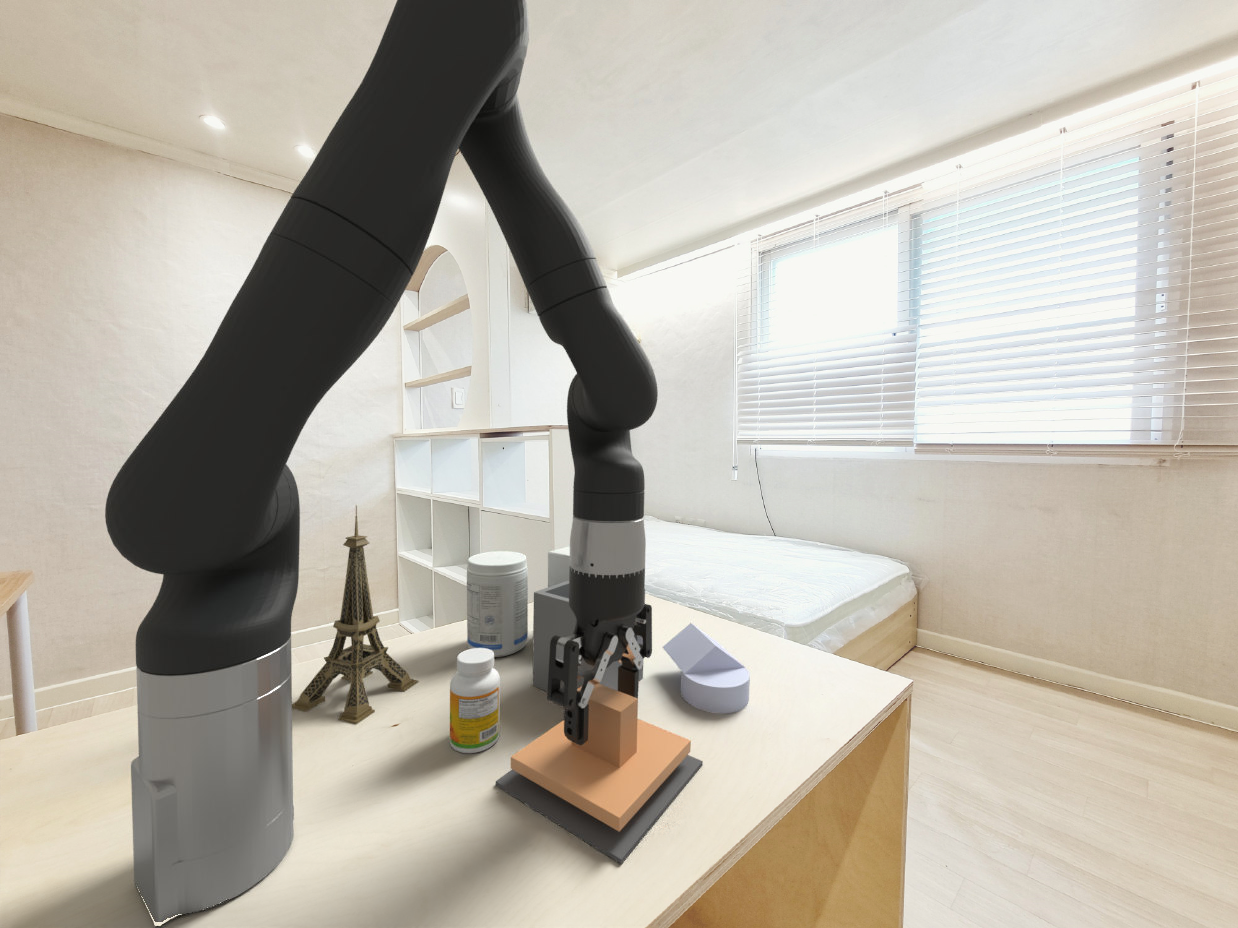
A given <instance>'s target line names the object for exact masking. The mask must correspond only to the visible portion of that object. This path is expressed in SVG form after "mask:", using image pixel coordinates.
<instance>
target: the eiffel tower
mask: <svg viewBox="0 0 1238 928" xmlns="http://www.w3.org/2000/svg"><path fill="white" fill-rule="evenodd" d="M357 506H358V505H357V504H356V505H355V516H354V517H355V520H354V521H355V523H354V535H351V536H347V537H345V539H346V541H345V542H344V543H343V544H342V545H343V546H345V547H348V549H349V550H348V558H347V566H346V572H345V573H346V575H345V583H344V588H343V596H342V604H341V609H340V610H341V612H340V618H339V619H337V620H334V622H333V626H332V628H335V629H336V633H335V637H334V641H333V644H332V647H331V649H330V651H329V654H328V656H325V657H323V660H324V662H325V664H324V665H323V666H322V667H321V668H320V670H318V672H317V673H316V674H315V675H314V677H313V678H312V680H311V681H310V682H309V684H307V686H306V687H305V688H304V690H303V691H302V692H301V693H300V696H299V698H298V699H297V700H296V701H294V702H292V710H296V711H300V712H305V713H306V712H308V711H310V710H311V709H313V708H315V707H317V706H319V705H320V704H322V703H324V702H326V695H324V694H325V691H326V690H327V689H328V687H329V686H330V684H332V682H333V680H334V679H336V678H337V677H338V676H340V675H342V676H341V677H340V678H341V679H342V680H344V681H345V680H347V681H350V686H349V689H348V693H347V697H346V701H345V704H344V705H345V706H344V709H343V710H344V711H342V712H341V715H340V716H339V717H338V719H337V720H338V721H342V722H346V723H349V724H353V725H354V724H355V725H358V724H360V723H361V722H363V720H365V719H367V718H368V717H369V716H371V715H373V714H374V713H375V712H376V710H375V709H373V706H370V701H369V697H368V695H367V691H366V687H365V684H364V681H363V680H364V679H365V678H367V677H368V676H370V675H372V674H374V673H373V671H372V670H374V669H375V670H376V671H379V672H380V673H381V674H382V675H383V676H384V677H385V678H386V679H387V680H388V681H389V682H388V683H387V687H386V688H387V689H389V690H394V691H398V692H404V693H405V692H406V691H408V690H410V689H411V688H412V687H414V686H415V685H416V684H418V683H419V680H418V679H414V678H412V677H410V674H409V673H408V672H407V671H406V670H405V669H404V668H403V667H402V666H401V665H400V664H399V663H398V662H397V661H396V660H395V659H394V658H392V657H391V656H390V655H389V654H388V653H387V651H388V649H389V646H385V645H384V644H383V642H382V641H381V638H380V635H379V632H378V628H377V624H379V623H380V617H379V615H376V616H375V615H374V613H373V607H372V601H371V593H370V586H369V580H368V571H367V565H366V556H365V549H364V547H366V546H367V545H369V544H370V541H368V539H367V538H368V536H366V535H359V525H358V515H357V514H358V507H357ZM364 636H367V639H368V641H369V642H368V643H369V644H367V643H366V644H364V639H365V637H364ZM347 638H351V639H350V640H351V645H350V646H348V647H346V648H345V643H346V640H347Z"/></svg>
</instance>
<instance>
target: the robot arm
mask: <svg viewBox="0 0 1238 928" xmlns="http://www.w3.org/2000/svg"><path fill="white" fill-rule="evenodd" d="M527 3H528V2H527V0H396V3H395V5H394V8H393V11H392V13H391V15H390V17H389V20H388V22H387V25H386V28H385V30H384V32H383V34H382V37H381V39H380V42H379V45H378V47H377V49H376V52H375V54H374V56H373V59H372V61H371V63H370V65H369V67H368V69H367V71H366V73H365V75H364V77H363V79H362V81H361V82H360V85H359V86H358V88H357V89H356V90H355V92H354V94H353V96H352V97H351V98H350V100H349V102H348V104H346V106H345V108H344V109H343V111H342V113H341V115H340V116H339V117H338V119H337V121H336V123H335V124H334V126H333V127H332V129H331V130H330V132H329V134H328V136H327V137H326V139H325V141H324V142H323V144H322V145H321V147H320V149H319V151H318V153H317V155H316V156H315V158H314V160H313V162H312V163H311V165H310V166H309V168H308V170H307V172H306V173H305V175H304V176H303V177H302V179H301V180H300V182H299V184H298V185H297V186H296V187H295V189H294V191H293V193H292V194H291V196H290V198H289V200H288V201H287V203H286V205H285V207H284V209H283V210H282V212H281V213H280V215H279V216H278V219H277V221H276V222H275V224H274V226H273V228H272V229H271V231H270V232H269V235H268V236H267V238H266V240H265V242H264V243H263V245H262V248H261V250H260V252H259V254H258V256H257V257H256V260H255V261H254V264H253V265H252V268H251V269H250V271H249V273H248V274H247V276H246V278H245V280H244V281H243V283H242V285H241V286H240V288H239V290H238V291H237V293H236V295H235V297H234V298H233V300H232V302H231V304H230V305H229V308H228V310H227V312H226V313H225V315H224V316H223V319H222V321H221V322H220V324H219V327H218V328H217V331H216V332H215V334H214V336H213V337H212V340H211V341H210V343H209V345H208V347H207V349H206V351H205V352H204V354H203V356H202V357H201V359H200V360H199V362H198V363H197V365H196V367H195V368H194V370H193V371H192V372H191V374H190V375H189V377H188V378H187V379H186V381H185V383H184V384H183V385H182V387H181V388H180V390H179V391H178V392H177V393H176V395H175V396H174V397H173V399H172V400H171V401H170V402H169V404H168V405H167V407H166V408H165V409H164V410H163V411H162V413H161V415H160V416H159V417H158V418H157V420H156V422H155V423H154V424H152V426H151V427H150V429H149V430H148V432H147V433H145V435H144V436H143V438H142V439H141V440H140V441H139V443H138V444H137V446H136V447H135V448H134V450H133V451H132V452H131V453H130V455H129V457H127V459H126V460H125V461H124V463H123V464H122V466H121V467H120V469H119V470H118V472H117V474H116V475H115V477H114V479H113V481H112V483H111V486H110V488H109V490H108V493H107V495H106V496H107V497H106V503H105V508H104V509H105V510H104V513H105V516H104V517H105V524H106V530H107V533H108V535H109V538H110V539H111V542H112V545H113V546H114V547H115V548H116V551H118V553H119V554H120V555H121V556H122V558H124V559H125V560H127V561H128V562H130V563H131V564H132V565H133V566H135V567H137V568H139V569H141V570H143V571H146V572H150V573H153V574H156V575H157V574H158V575H162V582H161V585H160V588H159V590H158V594H157V595H156V598H155V600H154V602H153V604H152V606H151V607H150V609H149V610H148V612H147V613H146V615H145V616H144V618H143V619H142V621H141V622H140V623H139V626H138V628H137V631H136V635H135V665H136V669H135V670H136V694H137V695H136V699H137V732H138V733H137V738H138V740H137V741H138V743H137V744H138V756H137V757H135V758H134V759H133V760H132V761H131V762H130V763H131V764H130V781H131V783H130V785H131V786H130V787H131V808H132V809H131V811H132V812H131V813H132V815H131V816H132V818H131V819H132V846H133V847H132V851H133V882H134V881H135V883H134V885H135V884H136V885H137V887H138V889H139V891H140V894H141V896H142V897H143V899H144V901H145V903H146V905H147V907H148V909H149V911H150V913H151V915H152V917H153V919H154V921H155V922H163V921H164V920H166V919H167V918H171V917H173V916H175V915H178V914H185V915H187V914H186V913H189V914H193V913H197V912H200V911H199V910H202V911H204V910H203V909H205V910H207V909H206V908H207V907H210V908H213V907H214V906H213V905H216V904H219V903H220V902H223V901H225V900H226V899H229V900H231V899H233V898H236V897H237V896H239V895H241V894H242V893H244V892H246V891H247V890H249V889H251V888H252V887H254V886H255V885H256V884H258V883H259V882H260V881H261V880H264V878H266V876H268V875H269V874H270V873H271V872H272V871H273V870H274V869H275V868H276V867H278V865H279V864H280V862H281V861H282V860H283V859H284V858H285V856H286V855H287V853H288V852H289V850H290V848H291V845H292V842H293V839H294V820H295V819H294V818H295V807H294V771H293V770H294V768H293V767H294V765H293V762H294V760H293V756H294V755H293V754H294V753H293V751H294V750H293V709H292V704H293V694H292V693H293V690H292V689H293V688H292V687H293V686H292V684H293V683H292V682H293V681H292V679H293V677H292V676H293V675H292V668H293V667H292V664H293V663H292V618H293V617H292V615H293V611H294V606H295V603H296V599H297V594H298V589H299V578H300V576H299V574H300V537H301V535H300V533H301V522H300V521H301V509H300V508H301V507H300V495H299V489H298V485H297V481H296V478H295V476H294V474H293V472H292V471H291V469H290V467H289V465H287V462H288V461H289V459H290V456H291V454H292V451H293V449H294V447H295V445H296V443H297V441H298V439H299V436H300V435H301V433H302V431H303V429H304V428H305V426H306V424H307V422H308V420H309V418H310V416H312V413H313V412H314V411H315V409H316V407H317V406H318V405H319V403H321V401H322V400H323V398H324V397H325V396H326V395H327V393H328V392H329V391H330V390H331V389H332V388H333V387H334V385H335V384H336V383H337V382H338V381H339V380H340V379H341V377H343V375H344V374H345V373H346V372H347V371H348V370H349V369H351V367H352V366H353V365H354V364H355V363H356V361H357V360H358V359H359V358H360V357H361V356H362V355H363V354H364V353H365V352H366V351H367V349H368V348H369V347H370V346H371V344H373V342H374V341H375V339H376V338H377V337H378V335H380V333H381V332H382V330H383V329H384V327H385V326H386V324H387V323H388V321H389V320H390V318H391V317H392V314H393V313H394V311H395V309H396V307H397V306H398V304H399V302H400V300H401V298H402V297H403V295H404V294H405V293H404V292H405V291H406V289H407V287H408V285H409V283H410V281H411V279H413V278H412V277H413V275H414V274H415V272H416V270H417V268H418V265H419V263H420V260H421V258H422V256H423V253H424V252H425V251H424V250H425V249H426V246H427V243H428V240H429V238H430V236H431V233H432V229H433V226H434V224H435V221H436V218H437V215H438V212H439V209H440V206H441V203H442V199H443V196H444V192H445V188H446V184H447V183H448V180H449V179H448V178H449V175H450V171H451V170H452V169H451V168H452V165H453V163H454V161H455V157H456V154H457V152H458V151H459V152H460V154H461V156H462V157H463V159H464V161H465V162H466V164H467V166H468V167H469V170H470V171H471V174H472V175H473V177H474V179H475V180H476V182H477V184H478V186H479V188H480V190H481V191H482V192H481V193H482V194H483V196H484V197H485V199H486V201H487V203H488V206H489V207H490V209H491V211H492V213H493V216H494V218H495V220H496V222H497V224H498V226H499V229H500V231H501V232H502V235H503V237H504V239H505V241H506V244H507V246H508V249H509V251H510V253H511V256H512V257H513V260H514V263H515V265H516V267H517V269H518V272H519V275H520V276H521V279H522V282H523V285H524V287H525V290H526V291H527V294H528V297H529V298H530V300H531V303H532V305H533V308H534V309H535V312H536V314H537V317H539V318H538V319H539V321H540V324H541V326H542V327H543V330H544V331H545V334H546V335H547V336H548V338H549V340H551V341H552V342H553V343H555V344H557V345H558V346H559V345H560V346H562V348H563V349H564V350H565V352H566V355H567V356H568V358H569V360H570V362H571V365H572V366H573V368H574V370H575V372H576V374H575V375H574V376H573V378H572V380H571V382H570V385H569V388H568V393H567V400H566V401H567V402H566V418H567V429H568V437H569V443H570V445H569V446H570V451H571V457H572V461H573V462H572V463H573V468H574V476H573V487H572V488H573V490H572V492H573V494H572V495H573V498H572V523H571V529H570V534H569V535H570V536H569V546H570V563H569V606H570V608H571V610H572V611H573V613H574V615H575V617H576V625H575V629H574V632H573V635H570V636H568V637H565V638H563V637H560V636H557V635H555V636H553V637H552V639H551V642H550V655H549V673H548V690H547V691H546V693H547V694H546V699H547V701H548V702H550V703H552V704H555V705H557V706H559V707H562V708H563V710H564V712H563V720H564V734H565V736H566V737H567V739H568V740H570V741H572V742H574V743H576V744H578V745H583V744H584V743H585V742H587V741H588V723H589V705H588V704H587V703H588V701H589V698H590V696H591V693H592V690H593V688H594V686H595V685H596V684H598V683H600V682H601V679H602V677H603V674H604V672H605V669H606V668H607V667H609V666H610V665H611V664H612V663H613V662H614V661H619V663H621V664H622V665H621V666H619V667H618V691H619V692H622V693H625V694H627V695H630V696H632V697H635V698H638V699H639V697H638V696H639V688H640V687H639V682H640V681H639V669H641V668H642V666H643V667H644V659H645V658H647V659H649V658H650V657H651V656H652V653H653V611H652V610H653V606H652V605H650V604H648V603H646V602H645V603H644V590H645V591H646V588H645V587H646V586H645V585H646V583H645V581H646V580H645V579H646V578H645V577H646V549H647V548H646V542H647V541H646V531H645V521H644V520H645V487H646V486H645V473H644V472H645V471H644V468H643V465H642V464H641V463H640V462H639V460H637V458H635V456H634V455H633V450H632V441H631V430H635V429H638V428H639V427H641V426H644V424H646V423H647V422H648V421H649V420H650V418H652V416H653V414H654V412H655V410H656V408H657V404H658V393H659V392H658V384H657V378H656V375H655V371H654V369H653V366H652V364H651V362H650V359H649V358H648V356H647V354H646V351H644V349H643V347H642V346H641V344H640V342H639V341H638V339H637V337H636V336H635V334H634V332H633V331H632V329H631V328H630V326H629V325H628V323H627V322H626V320H625V319H624V317H623V316H622V315H621V313H620V312H619V311H618V309H617V308H616V306H615V304H614V303H613V300H612V297H611V294H610V290H609V288H608V286H607V283H606V281H605V279H604V275H603V273H602V271H601V268H600V265H599V263H598V261H597V257H596V255H595V253H594V250H593V248H592V245H591V244H590V241H589V239H588V237H587V235H586V233H585V231H584V229H583V227H582V226H581V224H580V222H579V220H578V219H577V218H576V215H575V214H574V213H573V212H572V210H571V209H570V208H569V206H568V205H567V203H566V202H565V201H564V199H563V198H562V197H561V195H560V194H559V192H557V190H556V189H555V188H554V186H553V184H552V183H551V182H550V180H549V178H548V176H547V175H546V173H545V172H544V170H543V168H542V167H541V165H540V162H539V160H538V159H537V156H536V153H535V152H534V149H533V147H532V144H531V141H530V139H529V136H528V131H527V129H526V126H525V122H524V118H523V113H522V109H521V105H520V101H519V97H518V90H519V85H520V83H521V77H522V72H523V68H524V63H525V61H526V57H527V52H528V47H529V46H528V45H529V40H530V26H529V24H530V23H529V22H530V20H529V9H528V4H527ZM637 635H639V636H641V637H642V638H643V644H639V643H637ZM582 658H583V659H584V661H585V662H586V663H587V664H588V665H591V666H594V668H593V669H592V670H586V669H584V668H581V667H580V664H581V661H582ZM579 678H583V679H584V683H583V685H582V688H581V690H580V691H577V681H578V679H579ZM561 681H563V682H564V686H563V688H562V689H560V682H561ZM136 885H135V886H136ZM137 887H136V888H137ZM138 889H137V890H138ZM139 891H138V892H139ZM140 894H139V895H140ZM141 896H140V897H141ZM225 902H226V901H225ZM223 903H224V902H223ZM219 905H220V904H219ZM212 906H213V907H212ZM216 906H217V905H216ZM194 911H195V912H194ZM192 912H193V913H192Z"/></svg>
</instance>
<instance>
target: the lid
mask: <svg viewBox="0 0 1238 928" xmlns="http://www.w3.org/2000/svg"><path fill="white" fill-rule="evenodd" d="M581 688H582V686H581V687H580V688H578V689H577V691H580V690H581ZM587 704H588V705H589V723H588V741H587V742H585V743H584V744H583V745H578V744H576V743H574V742H572V741H570V740H568V739H567V737H566V736H565V734H564V719H563V720H562V721H560V722H559V723H558V724H556V725H555V726H553V727H552V728H550V729H549V730H547V731H546V732H544V733H543V734H542V735H540V736H538V737H537V738H536V739H534V740H532V742H530V743H528V744H527V745H526V746H524V747H523V748H521V749H519V750H518V751H517V752H516V753H514V754H513V755H511V756H510V769H511V770H514V771H516V772H518V773H519V774H521V775H523V776H524V777H526V778H528V779H530V780H531V781H533V782H535V783H536V784H538V785H540V786H542V787H543V788H545V789H547V790H548V791H550V792H552V793H554V794H555V795H557V796H559V797H560V798H562V799H564V800H566V801H567V802H569V803H571V804H573V805H574V806H576V807H578V808H579V809H581V810H583V811H585V812H586V813H588V814H590V815H591V816H593V817H595V818H597V819H598V820H600V821H602V822H603V823H605V824H607V825H609V826H610V827H612V828H614V829H615V830H617V831H619V832H620V831H621V829H622V828H623V827H624V826H625V825H626V824H627V823H628V821H629V820H630V819H631V818H632V817H633V816H634V815H635V814H636V812H637V811H638V810H639V809H640V808H641V807H642V806H643V805H644V803H645V802H646V801H647V800H648V799H649V798H650V797H651V796H652V794H653V793H654V792H655V791H656V790H657V789H658V788H659V786H660V785H661V784H662V783H663V782H664V781H665V780H666V779H667V777H668V776H669V775H670V774H671V773H672V772H673V771H674V770H675V768H676V767H677V766H678V765H679V764H680V763H681V762H682V761H683V759H684V758H685V757H686V756H687V755H690V753H691V748H692V747H691V744H692V743H691V741H692V740H690V739H688V738H686V737H684V736H681V735H679V734H676V733H673V732H672V731H670V730H666V729H663V728H662V727H660V726H657V725H655V724H652V723H649V722H647V721H645V720H642V719H639V718H638V716H639V715H638V713H639V712H638V711H639V697H638V698H635V697H632V696H630V695H627V694H625V693H622V692H619V691H617V690H614V689H612V688H609V687H606V686H604V685H601V684H596V685H595V686H594V688H593V690H592V693H591V696H590V698H589V701H588V703H587Z"/></svg>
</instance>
